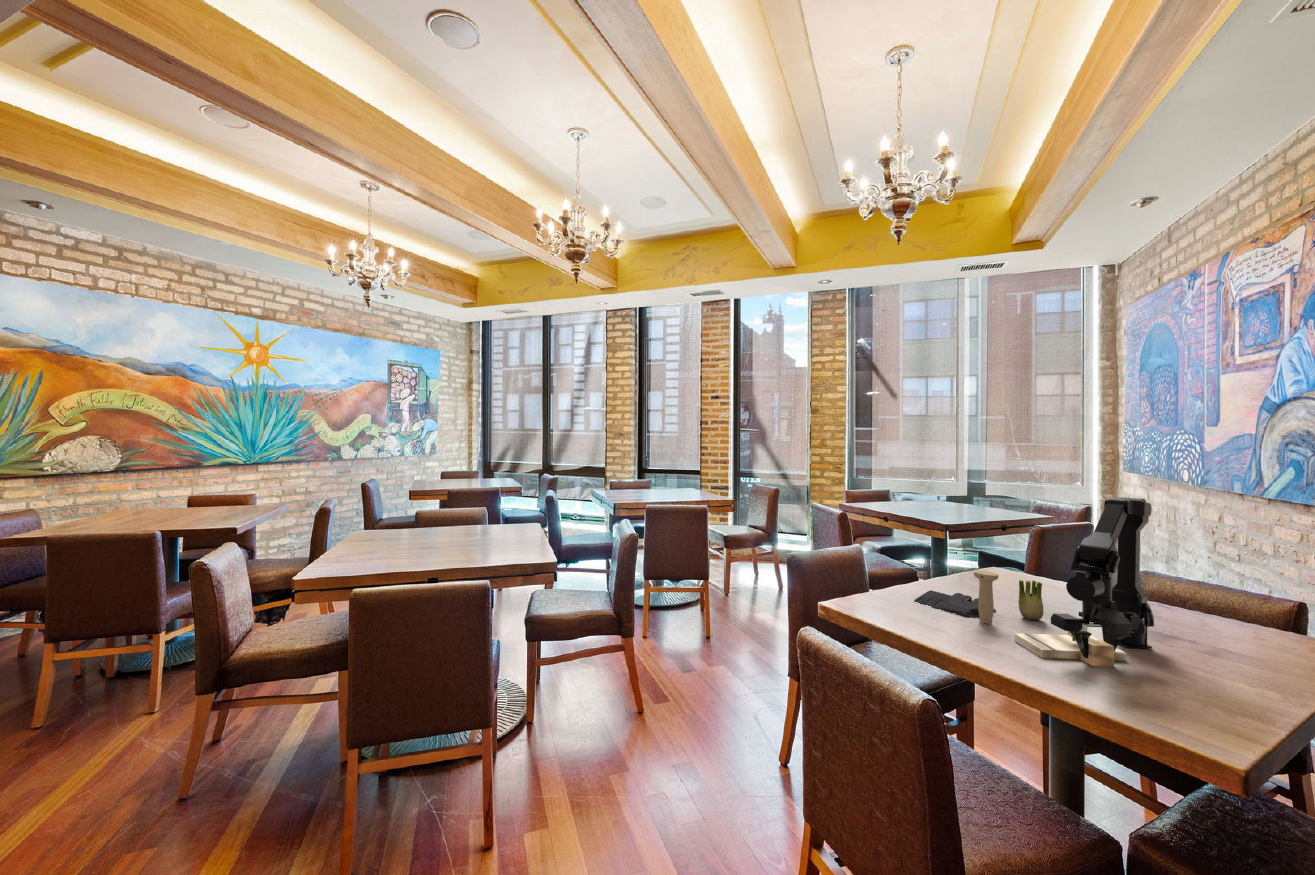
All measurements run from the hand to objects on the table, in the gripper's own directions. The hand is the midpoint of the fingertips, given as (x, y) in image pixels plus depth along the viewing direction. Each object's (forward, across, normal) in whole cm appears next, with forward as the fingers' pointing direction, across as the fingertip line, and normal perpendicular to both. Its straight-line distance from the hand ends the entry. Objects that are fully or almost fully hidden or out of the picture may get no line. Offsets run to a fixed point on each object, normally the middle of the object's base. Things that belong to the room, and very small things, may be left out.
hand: (1097, 658), depth 134 cm
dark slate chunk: (+2, -13, +46) cm, 48 cm away
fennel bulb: (+1, +5, +34) cm, 35 cm away
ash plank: (+1, -1, +8) cm, 9 cm away
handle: (+2, -11, +30) cm, 32 cm away
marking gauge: (+1, 0, +3) cm, 4 cm away
